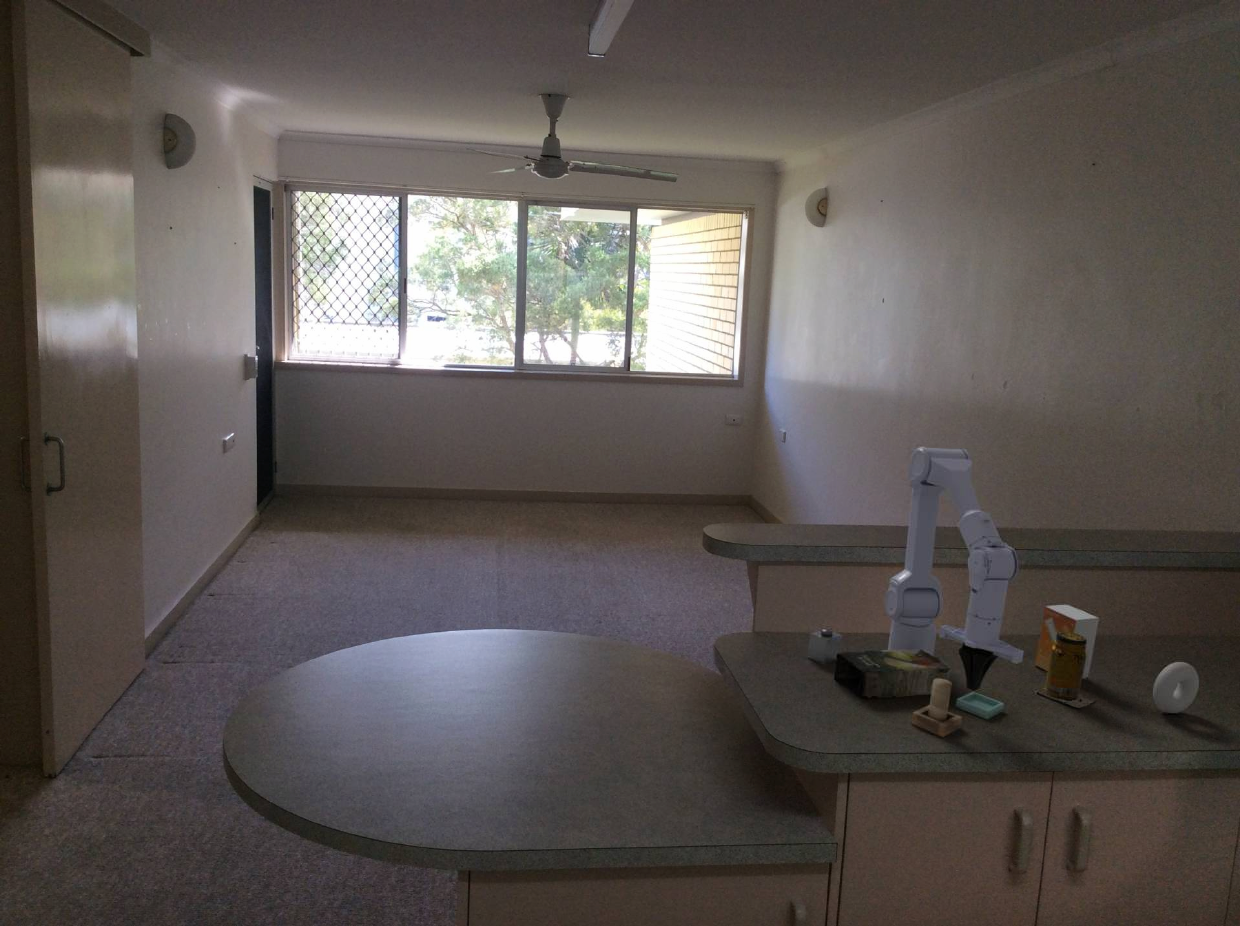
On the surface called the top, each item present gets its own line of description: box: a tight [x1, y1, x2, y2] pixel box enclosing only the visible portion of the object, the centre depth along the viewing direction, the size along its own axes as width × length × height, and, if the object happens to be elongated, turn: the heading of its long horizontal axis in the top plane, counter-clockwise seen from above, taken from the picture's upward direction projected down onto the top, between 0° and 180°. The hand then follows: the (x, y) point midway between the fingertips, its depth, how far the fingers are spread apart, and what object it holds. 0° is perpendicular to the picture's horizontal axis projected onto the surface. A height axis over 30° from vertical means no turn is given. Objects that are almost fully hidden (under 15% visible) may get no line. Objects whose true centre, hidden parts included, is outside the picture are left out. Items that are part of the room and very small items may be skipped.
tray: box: [955, 691, 1005, 720], centre depth 180 cm, size 6×6×2 cm
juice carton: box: [833, 649, 951, 699], centre depth 187 cm, size 20×10×6 cm, turn 110°
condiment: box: [1035, 632, 1087, 701], centre depth 187 cm, size 7×8×12 cm
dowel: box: [928, 679, 953, 723], centre depth 171 cm, size 3×3×8 cm
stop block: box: [806, 627, 843, 665], centre depth 197 cm, size 5×4×6 cm
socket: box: [910, 704, 963, 738], centre depth 171 cm, size 6×6×2 cm
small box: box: [1034, 604, 1100, 678], centre depth 200 cm, size 8×6×13 cm
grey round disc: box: [1152, 661, 1200, 714], centre depth 185 cm, size 10×3×10 cm, turn 115°
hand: (973, 688), depth 175 cm, fingers closed
